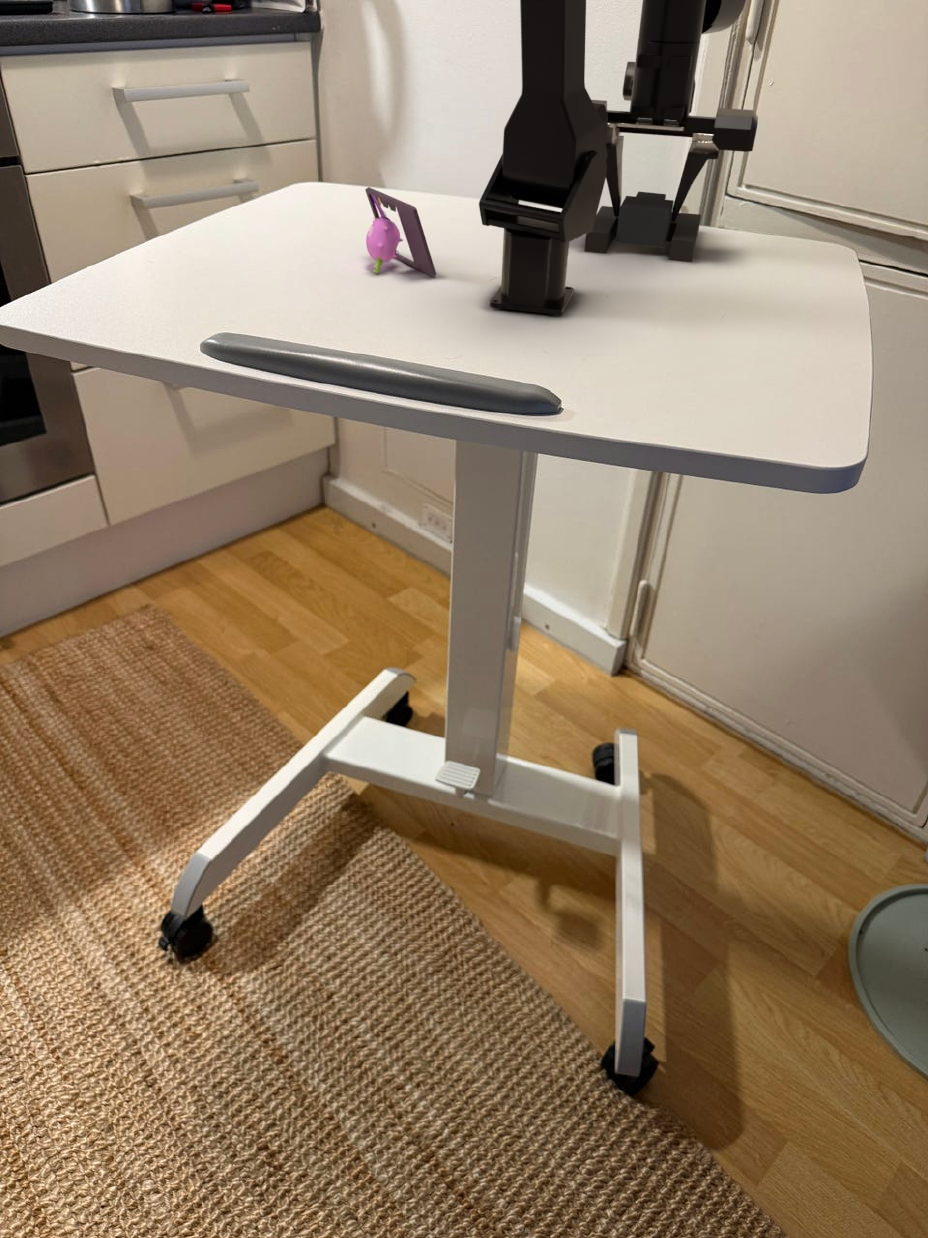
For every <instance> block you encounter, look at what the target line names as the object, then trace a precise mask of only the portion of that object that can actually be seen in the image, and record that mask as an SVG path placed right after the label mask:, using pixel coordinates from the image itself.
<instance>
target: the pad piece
mask: <svg viewBox="0 0 928 1238" xmlns="http://www.w3.org/2000/svg"><path fill="white" fill-rule="evenodd" d="M666 198H667V194H666V193H658V192H648V191H638V192H637V193H636V196H634V195H633V196H632V195H626V196H625V197H624V199H623V201H622V202H621V207H620V212H619V220H618V227H617V235H616V237H615V243H617V244H627V245H634V246H635V245H636V246H644V247H654V248H662V249H664V248H665V246H666V243H667V242H666V240H667V237H668V232H669V226H670V220H671V214H672V210H673V205H674V202H675V200H673V199H666Z"/></svg>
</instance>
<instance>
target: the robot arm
mask: <svg viewBox="0 0 928 1238" xmlns="http://www.w3.org/2000/svg"><path fill="white" fill-rule="evenodd" d="M746 1H747V0H642V2H641V3H642V5H641V13H640V19H639V29H638V38H637V46H636V55H635V61H627V64H626V68H625V74H624V78H623V85H622V98H623V100H624V101H629V102H630V105H629V111H627V110H626V111H625V110H624V111H623V110H609V109H608V100H602V99H601V100H600V99H592V98H591V97H590V95H589V92H588V90H587V89H586V81H585V73H586V30H587V28H586V26H587V0H519V5H520V9H519V10H520V12H519V13H520V51H521V52H520V53H521V57H520V58H521V94H520V96H519V98H518V100H517V101H516V104H515V106H514V108H513V109H512V111H511V114H510V116H509V118H508V120H507V122H506V124H505V126H504V128H503V139H502V153H501V156H500V157H499V160H498V162H497V164H496V166H495V168H494V170H493V172H492V174H491V176H490V178H489V180H488V183H487V184H486V187H485V189H484V191H483V193H482V195H481V197H480V199H479V201H478V208H479V213H480V220H481V224H482V226H485V227H496V228H501V229H503V236H502V237H503V238H502V259H501V279H500V281H501V282H500V283H501V284H500V287H499V288H498V289H497V291H496V292H495V293H494V294H493V296H492V297H491V298H490V299H489V307H490V308H495V309H503V310H504V309H505V310H512V311H513V310H514V311H522V312H531V313H539V314H547V315H562V314H563V313H564V312H565V310H566V308H567V306H568V304H569V302H570V300H571V299H572V297H573V295H574V289H575V288H574V287H572V286H567V285H566V284H567V272H568V262H569V261H568V260H569V249H570V242H571V241H573V240H576V239H579V238H580V237H583V236H586V234H587V233H590V232H592V230H593V226H594V222H595V218H596V215H597V213H598V211H599V207H600V202H601V198H602V194H603V191H604V188H605V184H607V190H608V193H609V197H610V202H611V207H613V211H614V216H615V217H618V216H619V212H620V207H621V205H622V198H623V197H622V195H623V191H622V189H623V151H624V139H625V137H624V135H621V134H622V133H623V134H635V135H636V134H639V135H652V136H664V137H665V136H667V137H679V138H691V143H690V147H689V148H688V149H689V150H688V152H687V156H686V158H685V159H686V160H685V163H684V166H683V169H682V173H681V177H680V181H679V183H678V188H677V191H676V194H675V198H674V203H673V209H672V217H671V222H675V220H676V218H677V216H678V214H679V213H681V212H680V211H681V209H682V208H683V205H684V202H685V200H686V198H687V196H688V194H689V192H690V190H691V187H692V186H693V184H694V182H695V181H696V179H697V178H698V176H699V174H700V172H701V171H702V169H703V167H704V166H705V165H706V163H707V161H708V160H718V159H719V158H720V154H721V151H729V152H742V153H748V152H753V150H754V144H755V139H756V135H757V129H758V124H759V123H758V122H759V117H758V115H757V114H756V111H755V110H754V109H741V108H727V107H726V108H725V107H717V111H716V114H715V116H702V115H690V114H691V113H692V111H693V104H694V98H695V91H696V71H697V65H698V58H699V52H700V46H701V40H702V35H708V34H714V33H720V32H723V31H725V30H727V29H729V28H730V27H731V26H732V25H733V26H734V24H735V23H736V22H737V20H738V19H739V18H740V16H741V14H742V13H743V11H744V7H745V5H746ZM605 182H606V183H605ZM520 202H524V203H530V204H535V205H540V206H546V207H550V208H556V209H561V211H559V210H558V211H557V210H554V209H553V210H552V209H548V208H544V207H543V208H542V207H538V206H533V205H527V204H521V203H520Z"/></svg>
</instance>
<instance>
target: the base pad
mask: <svg viewBox="0 0 928 1238" xmlns="http://www.w3.org/2000/svg"><path fill="white" fill-rule="evenodd" d="M671 217H672V214H671ZM701 219H702V214H699V213H687V212H679V214H678V216H677V218H676V220H675V222H671V220H670V226H669V232H668V237H667V240H666V243H670V248H669V255H668V260H670V261H679V262H692V260H693V256H694V252H695V249H696V245H697V244H696V243H697V239H698V235H699V231H700V225H701ZM618 220H619V216H618V217H615V216H614V211H613V207H612V206H608V205H601V206H600V208H599V209H598V211H597V215H596V218H595V222H594V226H593V230H592V232H590V233H587V234H585V238H584V239H585V241H584V249H583V250H584V252H590V253H599V254H607V253H608V250H609V248H610V246H611V244H612V242H613V240H614V238H616V235H617V227H618Z"/></svg>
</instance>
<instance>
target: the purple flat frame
mask: <svg viewBox="0 0 928 1238" xmlns="http://www.w3.org/2000/svg"><path fill="white" fill-rule="evenodd" d="M365 194H366V197H367V199H368V203H369V205H370V208H371V211H372V213H373V218H371V219H372V224H371V226H370V227H369V228H368V230H367V233H366V238H365V246H366V250H367V253H368V254H369V256H370V258H371V259H373V260H374V261H376V262H375V265H374V266H373V268H374V270H373V272H374V273H375V274H379V272H380V270H381V267H382V265H383V264H387V263H389V262H390V261H392V260H393V259H397V260H399V261H401V262H403V263H405V264H406V265H408V266H411V267H412V268H414V269H416V270H418V271H420V272H421V273H424V274H426V275H428V276H430V277H432V278H434V277H436V276H437V271H436V268H435V264H434V261H433V257H432V255H431V252H430V248H429V244H428V242H427V238H426V236H425V232H424V228H423V225H422V222H421V219H420V215H419V212H418V209H417V208H416V207H415V206H413V205H411V204H409V203H407V202H404V201H403V200H400V199H397V198H395V197H393V196H391V195H388V194H386V193H384V192H381V190H377V189H375V188H372V187H370V186H368V187H367V188H365ZM381 205H382V206H383V207H382V206H381ZM383 208H386V209H390V211H392V212H397V214H398V217H399V221H400V223H401V227H402V230H403V233H404V235H405V239H406V242H407V246H408V248H409V251H410V254H411V257H412V260H411V259H409V258H407V257H405V256H403V255H401V254H400V253H399V251H398V250H397V249H398V246H399V243H401V242H404V240H403V239H402V238H401V232H400V229H399V228H398V225H396V223H395V222H393V221H392V220H391V219H390V218H389V217H388V215H387V213H386V212H385V210H383Z"/></svg>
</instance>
